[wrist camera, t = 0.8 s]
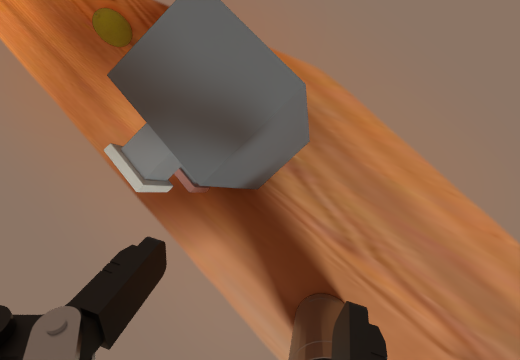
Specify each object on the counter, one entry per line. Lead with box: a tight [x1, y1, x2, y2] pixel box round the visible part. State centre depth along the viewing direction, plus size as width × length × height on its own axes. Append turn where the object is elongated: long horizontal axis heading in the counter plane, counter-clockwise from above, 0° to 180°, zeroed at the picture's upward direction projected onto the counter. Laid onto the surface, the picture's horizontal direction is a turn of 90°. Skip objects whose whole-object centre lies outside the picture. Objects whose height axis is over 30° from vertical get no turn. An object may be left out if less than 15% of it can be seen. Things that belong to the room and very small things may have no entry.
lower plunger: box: [174, 165, 210, 192], centre depth 39 cm, size 9×6×6 cm, turn 132°
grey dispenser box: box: [107, 0, 310, 189], centre depth 35 cm, size 12×14×24 cm
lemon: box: [92, 8, 132, 47], centre depth 49 cm, size 6×6×8 cm
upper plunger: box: [104, 123, 182, 192], centre depth 28 cm, size 9×6×6 cm, turn 132°
